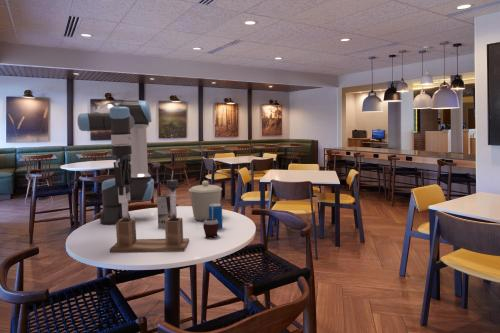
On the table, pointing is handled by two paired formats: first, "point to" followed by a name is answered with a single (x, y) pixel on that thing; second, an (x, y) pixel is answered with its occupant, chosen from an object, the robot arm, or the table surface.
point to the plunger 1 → (125, 205)
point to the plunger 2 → (173, 198)
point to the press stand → (131, 244)
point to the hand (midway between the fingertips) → (124, 201)
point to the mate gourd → (211, 226)
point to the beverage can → (216, 213)
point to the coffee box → (163, 209)
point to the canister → (204, 199)
